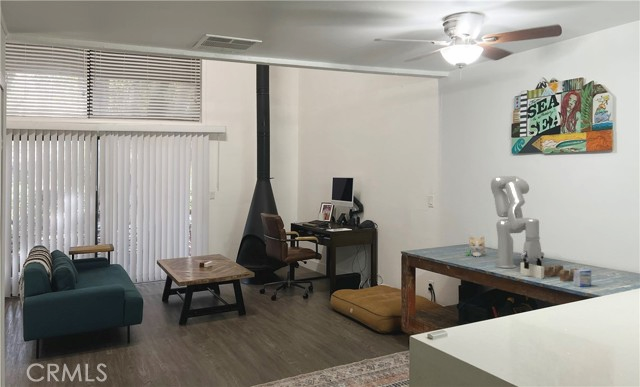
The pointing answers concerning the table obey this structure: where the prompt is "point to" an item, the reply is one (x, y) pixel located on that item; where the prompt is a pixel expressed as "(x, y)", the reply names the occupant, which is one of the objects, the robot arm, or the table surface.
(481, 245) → the kitten
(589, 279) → the medicine box
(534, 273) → the cream rectangular block
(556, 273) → the walnut rail
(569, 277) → the walnut rail
